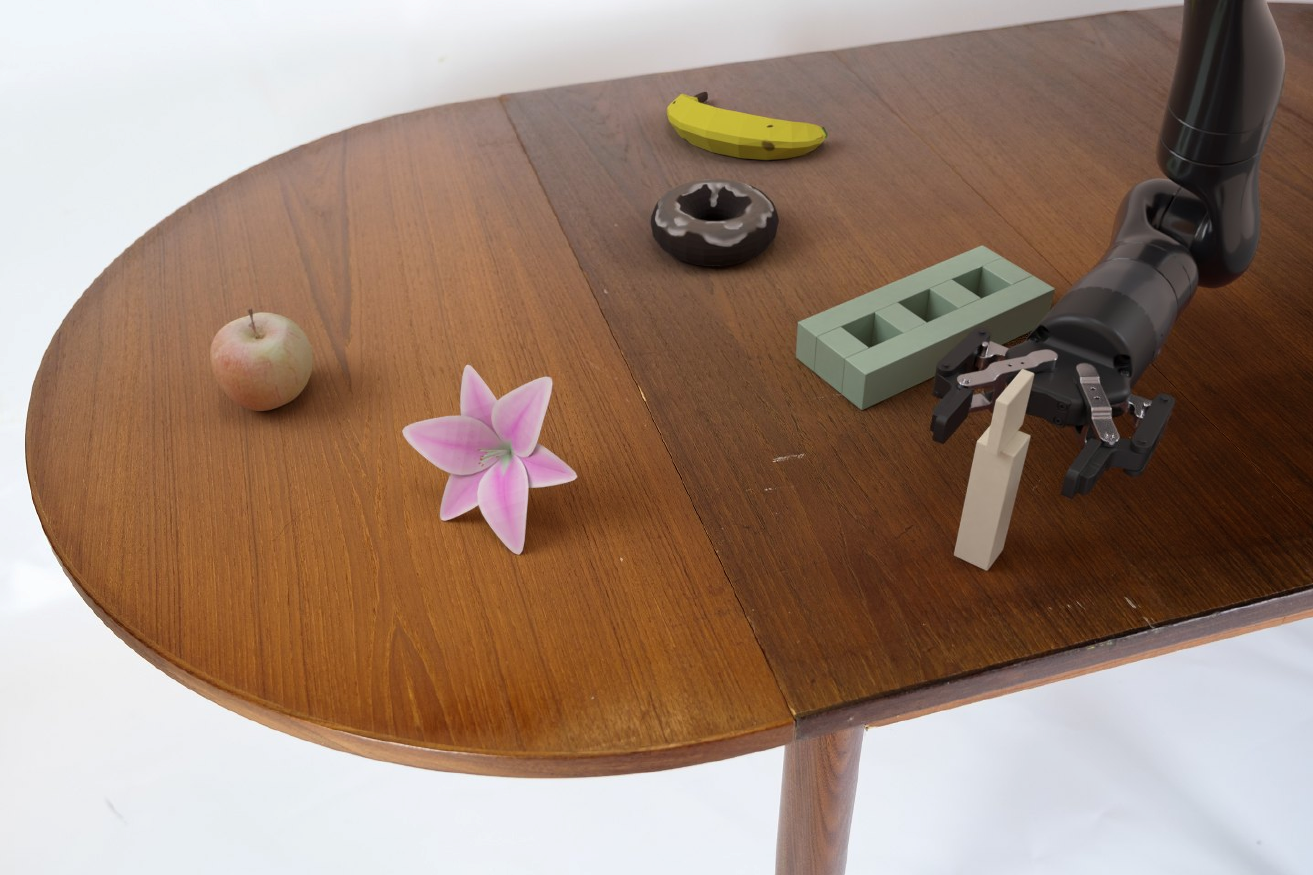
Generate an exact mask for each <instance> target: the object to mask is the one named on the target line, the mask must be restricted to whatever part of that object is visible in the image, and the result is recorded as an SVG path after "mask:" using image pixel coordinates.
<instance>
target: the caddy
mask: <svg viewBox="0 0 1313 875" xmlns="http://www.w3.org/2000/svg"><path fill="white" fill-rule="evenodd" d="M1055 292H1056V288H1055V287H1053V286H1052V285H1050V284H1049V283H1047V282H1045V281H1044V280H1042V279H1040V278H1038V277H1037V276H1035V275H1033V274H1031V273H1030V272H1028V271H1026V270H1025V269H1023V268H1021V267H1020V266H1019V265H1017V264H1015V263H1013V262H1011V261H1009V259H1006V258H1005V257H1003V256H1001V255H1000V254H999V253H996V252H995V251H993V250H992V249H990V248H989V247H986V246H985V245H983V244H981V245H980V246H979V245H978V246H976V247H974V248H972V249H969V250H966V251H965V252H962V253H959V254H958V255H955V256H953V257H950V258H948V259H946V260H943V261H940V262H939V263H936V264H934V265H931V266H929V267H927V268H923V269H921V270H918V271H916V272H914V273H912V274H910V275H907V276H905V277H901V278H900V279H898V280H896V281H893V282H890V283H888V284H885V285H883V286H881V287H879V288H876V289H874V290H871V291H869V292H866V293H864V294H862V295H859V296H857V297H854V298H852V299H850V300H847V301H845V302H843V303H840V304H838V305H835V306H833V307H830V308H828V309H826V310H823V311H821V312H819V313H816V314H814V315H812V316H808V317H807V318H804V319H802V320H799V321H798V322H797V329H796V345H795V346H796V347H795V358H796V359H797V360H798V361H800V362H801V363H802V364H803V365H805V366H806V367H807V368H808V369H810V370H811V371H812V372H813V373H814V374H815V375H817V376H818V377H819V378H820V379H822V380H823V381H825V382H826V383H827V384H828V385H829V386H831V388H833V389H834V390H835V391H836V392H838V393H839V394H841V396H843V397H844V398H846V400H848V401H849V402H850V403H851V404H852V405H854V406H855V407H857V408H858V409H859V410H860V411H864V410H865V409H868V408H870V407H872V406H875V405H876V404H879V403H881V402H883V401H885V400H887V399H889V398H892V397H894V396H896V395H898V394H900V393H902V392H904V391H906V390H908V389H910V388H911V389H912V388H913V387H915V386H917V385H919V384H921V383H923V382H926V381H929V380H930V379H932V378H935V373H936V367H937V363H938V361H940V360H941V359H942V358H943V357H944V356H945V355H946V354H947V353H948V352H950V351H951V350H952V349H953V348H954V347H955V346H956V345H957V344H958V343H960V342H961V341H962V340H963V339H964V338H965V337H966V336H967V335H968V334H970V333H971V332H972V331H973V330H974V329H975V328H979V327H983V328H987V329H989V330H990V331H991V337H990V341H992V342H994V343H996V344H999V345H1001V346H1003V345H1005V344H1007V343H1009V342H1011V341H1014V340H1015V339H1019V338H1020V337H1022V336H1024V335H1027V334H1028V333H1031V332H1032V331H1033V329H1034V328H1035V327H1036V326H1037V325H1038V324H1039V322H1040V321H1041V320H1042V319H1043V318H1044V317H1045V316H1046V315H1047V313H1048V312H1049V311H1050V310H1051V309H1052V308H1051V307H1052V305H1053V301H1054V296H1055Z"/></svg>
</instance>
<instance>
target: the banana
mask: <svg viewBox="0 0 1313 875" xmlns="http://www.w3.org/2000/svg"><path fill="white" fill-rule="evenodd" d="M708 100H709V93H708V92H707V91H702V92H699V93H698V94H695V95H693V96H690V95H688V94H686V93H681V94H679V95H678V96H677V97H676V98H675V99H674V100H673V101H671V103H670V104H669V105H668V106H667V110H666V116H667V120H668V122H669V123H670V125H671V126H672V128H673V129H674V130H675V132H676V133H677V134H678V135H679V137H680V138H681V139H683V140H684V141H686V142H688V143H689V144H691V145H692V146H694V147H698V148H700V149H703V150H705V151H708V152H709V153H710V152H711V153H715V154H719V155H724V156H728V157H733V158H738V159H749V160H762V161H771V160H785V159H791V158H796V157H797V158H798V157H802V156H805V155H807V154H809V153H811V152H812V151H814V150H816V149H817V148H818V147H820V145H821V144H822V143H823V142H824V141H825V140H826V139H827V138H828V132H827V130H826V128H825V127H824V126H819V125H817V124H813V123H809V122H801V121H800V122H799V121H790V120H785V119H778V118H771V117H765V116H761V115H756V114H751V113H745V112H741V111H735V110H729V109H724V108H719V107H715V106H712V105H709V104H707V103H706V102H707V101H708Z"/></svg>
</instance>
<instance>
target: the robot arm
mask: <svg viewBox="0 0 1313 875" xmlns="http://www.w3.org/2000/svg"><path fill="white" fill-rule="evenodd" d="M1285 77H1286V58H1285V49H1284V45H1283V41H1282V37H1281V34H1280V32H1279V29H1278V26H1277V23H1276V22H1275V19H1274V17H1273V15H1272V12H1271V10H1270V6H1269V5H1268V1H1267V0H1183V8H1182V23H1181V33H1180V42H1179V47H1178V53H1177V58H1176V64H1175V69H1174V72H1173V77H1172V81H1171V86H1170V89H1169V94H1168V97H1167V100H1166V105H1165V109H1164V114H1163V118H1162V122H1161V125H1160V130H1159V133H1158V137H1157V143H1156V146H1155V147H1156V148H1155V160H1156V164H1157V166H1158V169H1159V171H1161V173H1162V174H1163V175H1164V176H1165V177H1166V178H1165V177H1152V178H1148V179H1145V180H1142V181H1140V182H1137V183H1136V184H1135V185H1134V186H1132V187H1131V188H1130V189H1129V190H1128V191H1127V192H1126V193H1125V195H1124V197H1123V198H1122V200H1121V202H1119V205H1118V208H1117V211H1116V213H1115V217H1114V221H1113V225H1112V231H1111V236H1110V242H1109V245H1108V246H1107V249H1106V251H1105V252H1104V253H1103V255H1102V256H1101V257H1100V258H1099V259H1098V261H1096V263H1095V264H1094V265H1093V266H1092V267H1091V269H1090V270H1089V271H1088V272H1087V273H1085V274H1083V276H1081V277H1080V278H1078V279H1077V280H1076V281H1075V282H1074V283H1073V284H1072V285H1071V286H1070V287H1069V288H1068V290H1066V292H1065V293H1064V294H1063V295H1062V296H1061V298H1059V299H1058V301H1056V303H1054V305H1053V306H1052V308H1051V309H1050V311H1049V312H1048V313H1047V315H1046V316H1045V317H1044V318H1043V319H1042V320H1041V321H1040V322H1039V324H1038V325H1037V326H1036V327H1035V328H1034V329H1033V331H1031V332H1029V335H1028V336H1027V337H1026V339H1025V340H1024V341H1023V342H1021V343H1018V344H1014V345H1013V346H1010V347H1006V346H1003V345H999V344H996V343H994V342H992V341H990V337H991V331H990V330H989V329H987V328H983V327H979V328H975V329H974V330H973V331H972V332H971V333H970V334H968V335H967V336H966V337H965V338H964V339H963V340H962V341H961V342H960V343H958V344H957V345H956V346H955V347H954V348H953V349H952V350H951V351H950V352H948V353H947V354H946V355H945V356H944V357H943V358H942V359H941V360H940V361H938V363H937V367H936V373H935V376H934V379H933V384H932V385H933V386H932V393H931V394H932V396H933V397H934V398H936V399H939V400H940V401H938V403H937V404H936V405H935V406H934V407H933V409H932V414H931V420H930V427H929V431H930V432H932V438H931V440H932V441H934V442H936V443H938V444H940V445H945V444H946V443H947V441H948V440H949V439H950V438H951V437H952V436H953V434H955V432H956V431H957V430H958V429H959V428H960V426H961V425H962V424H963V423H964V422H965V421H966V419H968V417H969V414H971V413H972V414H973V413H976V412H982V411H986V410H988V412H989V413H991V414H993V412H994V407H995V403H996V399H997V398H998V397H999V396H1000V395H1001V394H1002V392H1003V391H1004V390H1005V388H1006V387H1007V386H1008V385H1009V384H1010V383H1011V382H1012V381H1013V379H1014V378H1015V377H1016V376H1017V375H1018V373H1019V372H1020V371H1021V370H1022V369H1024V370H1027V371H1030V372H1032V373H1034V378H1033V382H1032V386H1031V391H1030V395H1029V399H1028V403H1027V408H1026V412H1025V415H1028V416H1032V417H1037V418H1040V419H1043V420H1044V421H1046V422H1048V423H1049V424H1051V425H1053V426H1056V427H1058V428H1061V429H1064V428H1065V427H1070V428H1071V430H1072V433H1073V435H1074V438H1075V440H1076V442H1077V445H1078V447H1079V449H1080V450H1081V451H1080V452H1079V454H1078V455H1077V457H1075V459H1074V460H1073V462H1072V463H1071V464H1070V466H1069V467H1068V469H1067V471H1066V473H1065V476H1064V478H1063V479H1064V480H1063V483H1062V486H1061V490H1060V496H1062V497H1065V498H1067V499H1070V500H1073V499H1074V498H1075V496H1076V495H1077V494H1079V495H1080V496H1086V495H1087V494H1089V493H1091V492H1092V491H1093V489H1094V487H1095V486H1096V484H1097V483H1098V482H1099V480H1100V479H1101V477H1102V476H1103V474H1104V473H1105V472H1106V471H1108V470H1110V469H1111V468H1115V469H1116V468H1117V469H1122V472H1123V473H1124V474H1125V475H1127V476H1128V477H1132V478H1139V477H1141V476H1143V474H1144V472H1145V470H1146V468H1147V466H1148V465H1149V462H1150V461H1151V459H1152V457H1153V455H1154V453H1155V451H1156V449H1157V447H1158V445H1159V444H1160V442H1161V440H1162V438H1163V436H1164V434H1165V432H1166V429H1167V426H1168V423H1169V421H1170V418H1171V415H1172V413H1173V410H1174V406H1175V403H1176V399H1175V397H1174V396H1172V395H1171V394H1168V393H1157V394H1155V396H1154V397H1153V399H1149V398H1145V397H1143V396H1140V395H1136V394H1134V393H1132V391H1133V388H1134V387H1135V386H1136V384H1137V382H1139V380H1140V379H1141V377H1142V376H1143V374H1144V373H1145V371H1146V370H1147V369H1148V367H1149V366H1150V365H1152V364H1153V363H1154V362H1155V361H1156V359H1157V357H1158V356H1159V355H1160V354H1161V353H1162V352H1161V351H1162V348H1163V347H1164V345H1165V344H1166V342H1167V340H1168V338H1169V336H1170V334H1171V331H1172V328H1173V327H1174V326H1175V325H1176V323H1177V321H1178V320H1179V319H1180V318H1181V316H1182V315H1183V314H1184V313H1185V310H1186V309H1187V308H1188V307H1189V305H1190V303H1192V300H1193V299H1194V298H1195V295H1196V293H1197V290H1198V288H1199V287H1200V288H1205V289H1214V290H1215V289H1220V288H1224V287H1226V286H1228V285H1231V284H1232V283H1234V282H1236V281H1237V280H1238V279H1240V278H1241V277H1242V276H1243V275H1244V274H1245V272H1247V270H1248V269H1249V268H1250V266H1251V264H1252V263H1253V260H1254V258H1255V255H1256V253H1257V250H1258V246H1259V243H1260V236H1261V221H1262V220H1261V199H1260V166H1261V160H1262V155H1263V151H1264V149H1265V145H1266V142H1267V140H1268V137H1269V135H1270V131H1271V128H1272V125H1273V122H1274V119H1275V116H1276V113H1277V110H1278V106H1279V103H1280V100H1281V96H1282V93H1283V89H1284V85H1285ZM981 389H983V390H982V391H981V392H979V393H975V390H981ZM1125 414H1127V415H1129V416H1130V418H1131V420H1130V423H1131V425H1132V426H1133V427H1134V430H1133V431H1134V434H1133V436H1132V437H1131V439H1130V438H1123V437H1120V436H1121V435H1120V434H1119V432H1118V429H1117V427H1116V425H1115V422H1114V421H1113V419H1116V418H1118V417H1121V416H1122V415H1125Z"/></svg>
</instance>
